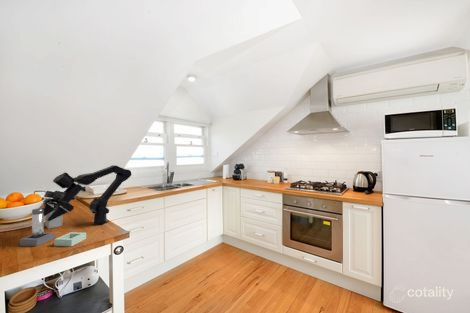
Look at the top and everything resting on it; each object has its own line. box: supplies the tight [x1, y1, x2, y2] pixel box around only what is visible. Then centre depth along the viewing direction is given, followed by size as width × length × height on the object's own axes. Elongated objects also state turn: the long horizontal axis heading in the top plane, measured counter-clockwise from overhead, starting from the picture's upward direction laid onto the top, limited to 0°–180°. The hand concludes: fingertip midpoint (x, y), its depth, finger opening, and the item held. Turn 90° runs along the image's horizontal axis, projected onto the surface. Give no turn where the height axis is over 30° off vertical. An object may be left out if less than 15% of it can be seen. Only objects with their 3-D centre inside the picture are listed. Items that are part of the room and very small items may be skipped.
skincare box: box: [44, 208, 64, 230], centre depth 117 cm, size 8×7×16 cm
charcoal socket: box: [19, 231, 55, 247], centre depth 95 cm, size 8×8×3 cm
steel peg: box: [31, 207, 45, 238], centre depth 95 cm, size 4×4×16 cm
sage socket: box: [53, 231, 87, 247], centre depth 96 cm, size 8×8×3 cm
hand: (43, 219), depth 97 cm, fingers open, 9 cm apart
